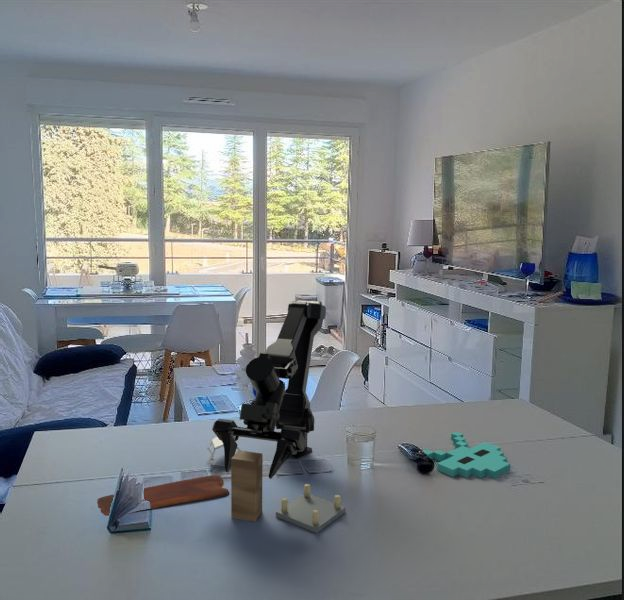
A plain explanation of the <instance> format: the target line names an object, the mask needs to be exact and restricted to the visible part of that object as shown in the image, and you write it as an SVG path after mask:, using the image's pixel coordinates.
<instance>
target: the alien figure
mask: <svg viewBox="0 0 624 600" xmlns="http://www.w3.org/2000/svg"><path fill="white" fill-rule="evenodd" d="M450 434H451V435H450V439H451V440H450V441H452V445H453V446H454V449H452V450H450V451H443V450H441V449H438V450H435V451H432V450H431V449H430V450H429V449H427V448H425V449H424V450H422V451H423V452H424V453H425V454H426V455H427V456H428V457H429V458H431V459H432V460H435V461H438V462H437V464H436V471H438V472H440V473H443V474H445V475H447V476H450V477H452V478H454V477H455V476H458V475H459V476H462V477H464V478H466V479H467V478H468V477H471V476H474V477H477V478H479V479H482V478H483V477H489V478H490V479H493V480H494V479H496V478H499V477H500V476H501V477H502V476H503V475H504V474H506V473H509V472H510V471H511V463H509V462H507V461H508V458H507V457H505V456H504V455H505V453H504V452H503V451H501V449H502V447H500V446H498V445H496V444H492V443H489V442H487V441H484V442H482V443H480V444H477V445H475V446H473V447H470V448H469V446H468V445H469V443H467V442H466V438H465V437H464V433H462V432H458V431H455V432H452V433H450Z"/></svg>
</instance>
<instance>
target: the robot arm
mask: <svg viewBox="0 0 624 600" xmlns="http://www.w3.org/2000/svg"><path fill="white" fill-rule="evenodd" d="M326 315H327V307H326V306H325V305H324V304H323V303H322V301H320V300H305V299H304V300H302V299H297V300H293V301H290V302H289V303H288V306H287V313H286V316H285V318H284V321H283V324H282V326H281V328H280V332H279V333H278V336H277V339H276V340H275V342H272V344H269V345H268V346H267V347H266V350H265V351H264V352H259V355H258V357H255V358H253V359H252V360H250V361H249V362H248V364H247V365H246V367H245V374H246V375H247V378H248V380H249V382H250V384H251V386H252V387H253V389H254V391H256V395H255V398H254V400H252V402H251V403H250V404H249V403H241V407H240V413H239V420H240V421H242V420H243V424H244V425H245V426H246V427H242V426H238V425H237V423H236V422H235V420H233V419H225V418H217V419H216V420H215V421H214V423H213V426H212V427H211V428H212V429H211V430H212V431H213V433H214V434H215V437H216V436H217V437H218V438H219V440H221V441H222V442H223V445H224V446H223V449H224V450H223V451H224V470H225V472H226V473H229V472H230V471H231V458H232V457H233V456H234V455H235V453H236V452H237V450H238V449H237V447H238V443H237V441H238V440H239V438H248V439H255V440H263V441H270V442H276V450H275V452H274V456H273V458H272V463H271V465H270V468H269V473H268V478H269V479H270V480H272V479H273V477H274V476H275V475H276V473H277V472H278V471H279V470H280V469H281V467H282V466H283V465H284V463H286V461H287V460H289V458H290V457H291V458H295V459H299V458H301V457H303V456H304V455H307V454H308V453H310V452H312V451H313V447H309V446H308V434H309V433H310V432H314V431H315V416H314V414H313V412H312V410H311V401H310V400H309V397H308V395H307V392H306V391H307V386H308V378H309V373H310V366H311V359H312V352H313V346H314V338H315V336H316V334H318V332H319V331H320V330H322V329H321V328H323V323H324V320H325V319H326ZM281 379H285V380H288V382H287V387H286V385H285V383H284V381H282V380H281ZM276 430H280V431H276Z"/></svg>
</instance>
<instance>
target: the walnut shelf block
mask: <svg viewBox="0 0 624 600" xmlns="http://www.w3.org/2000/svg"><path fill="white" fill-rule="evenodd" d="M237 451H238V450H237ZM237 451H236V452H237ZM236 452H235V453H236ZM263 455H264V454H263V453H262V452H261V453H260V452H256V451H255V452H253V451H247V450H241V449H240V450H239V451H238V452H237V453H236V454H235V455H234V456H233V457H232V458H231V468H230V481H231V482H230V486H231V487H230V488H231V489H230V492H231V493H230V494H231V496H230V497H231V498H230V501H231V502H230V504H231V505H230V506H231V508H230V509H231V511H230V512H231V515H230V516H231V519H235V520H242V521H247V522H254V523H255V522H256V521H257V520H258V519H259V517H260V515H262V513H263V459H264V457H263Z"/></svg>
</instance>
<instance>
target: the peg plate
mask: <svg viewBox="0 0 624 600" xmlns="http://www.w3.org/2000/svg"><path fill="white" fill-rule="evenodd" d="M303 490H304V493H303V494H301V495H300V496H298V497H297V498H295V499H294V500H292V501H290V502H289V501H288V500H289V499H288V498H287V497H286V498H285V497H283V498H282V499H281V507H280V509H278V510H277V511H276V512H275V517H276V518H279V519H281V520H284V521H286V522H288V523H291V524H292V525H296V526H297V527H300V528H303V529H305V530H308V531H310V532H312V533H315V534H319V532H321V531H322V530H323V529H324V528H326V527H328V526H329V525H330V524H331V523H333V522H334V521H336V519H338V518H339V517H340V516H342V515H343V514H345V513H346V507H345V506H342V505H341V495H339V494H335V495H334V502H332V501H329V500H327V499H324V498H321V497H318V496H315V495H313V494H311V484H308V483H305V484H304V487H303ZM288 502H289V503H288Z"/></svg>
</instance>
